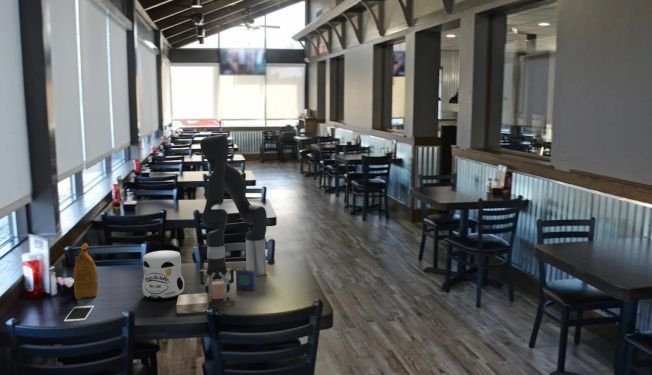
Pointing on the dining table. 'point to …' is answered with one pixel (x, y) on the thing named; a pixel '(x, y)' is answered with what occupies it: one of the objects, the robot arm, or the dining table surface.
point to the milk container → (162, 275)
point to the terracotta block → (218, 290)
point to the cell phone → (79, 313)
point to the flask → (245, 279)
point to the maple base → (192, 303)
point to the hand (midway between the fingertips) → (217, 292)
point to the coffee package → (85, 275)
